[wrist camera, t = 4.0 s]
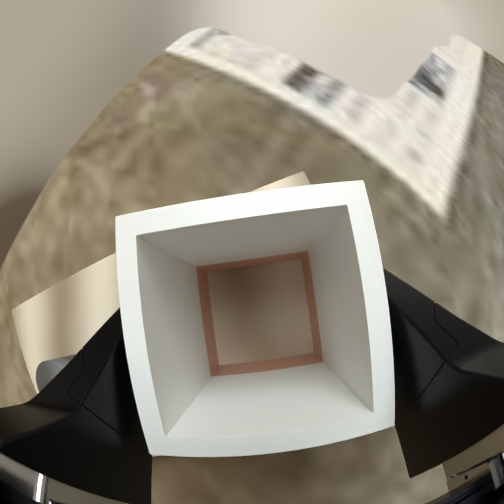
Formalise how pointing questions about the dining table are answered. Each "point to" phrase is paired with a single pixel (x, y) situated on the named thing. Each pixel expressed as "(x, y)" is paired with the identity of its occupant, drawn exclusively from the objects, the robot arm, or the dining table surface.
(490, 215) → the dining table surface
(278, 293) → the pin board
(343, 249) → the sleeve
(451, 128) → the dining table surface
